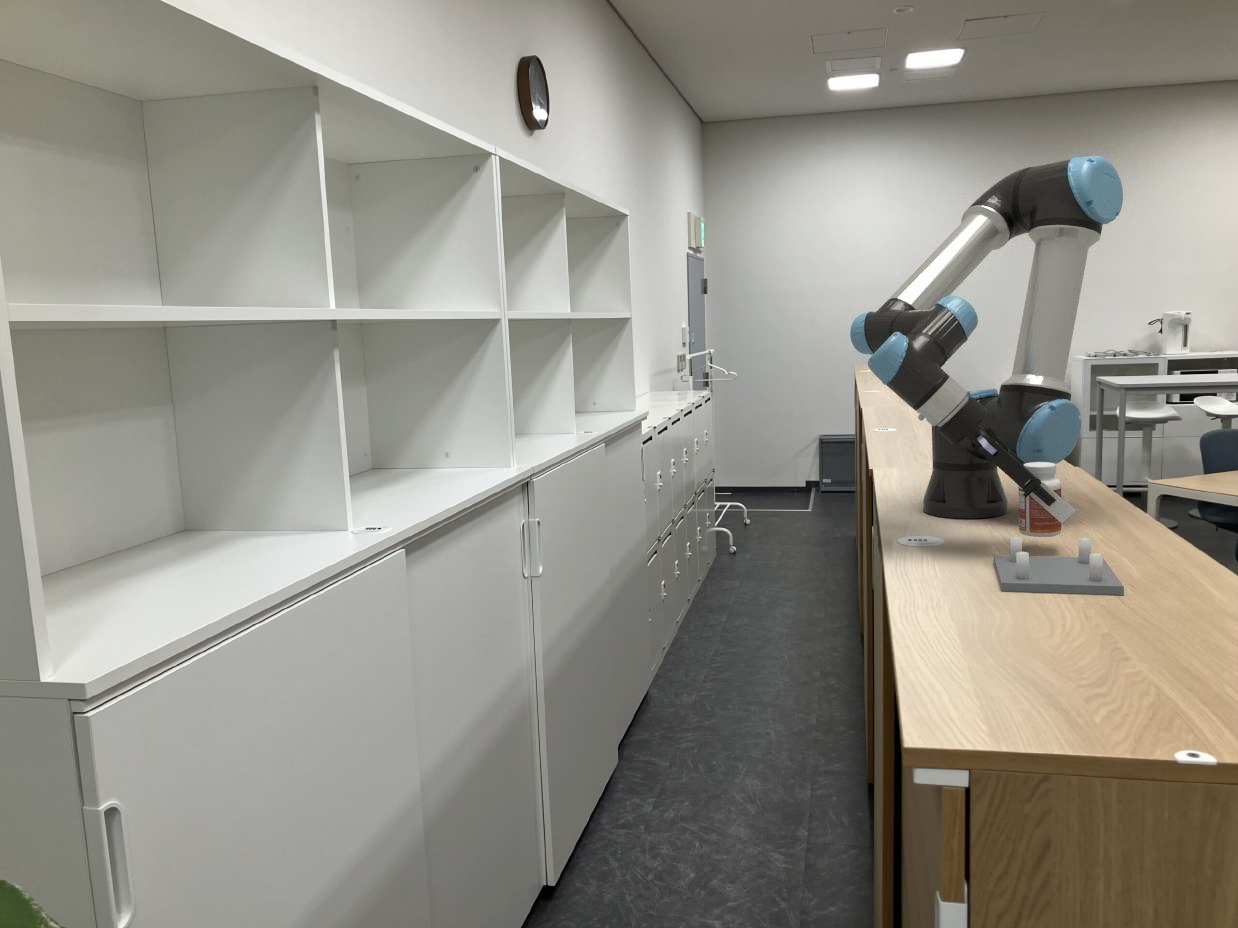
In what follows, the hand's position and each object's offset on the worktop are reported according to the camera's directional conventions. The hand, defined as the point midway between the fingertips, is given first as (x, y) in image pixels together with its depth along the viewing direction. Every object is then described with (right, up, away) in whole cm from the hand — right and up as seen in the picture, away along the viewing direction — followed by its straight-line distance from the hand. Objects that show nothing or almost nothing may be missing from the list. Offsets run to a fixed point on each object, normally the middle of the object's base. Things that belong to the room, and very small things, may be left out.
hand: (1064, 511), depth 145 cm
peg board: (-8, -9, -13) cm, 17 cm away
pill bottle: (-3, -4, +2) cm, 5 cm away
